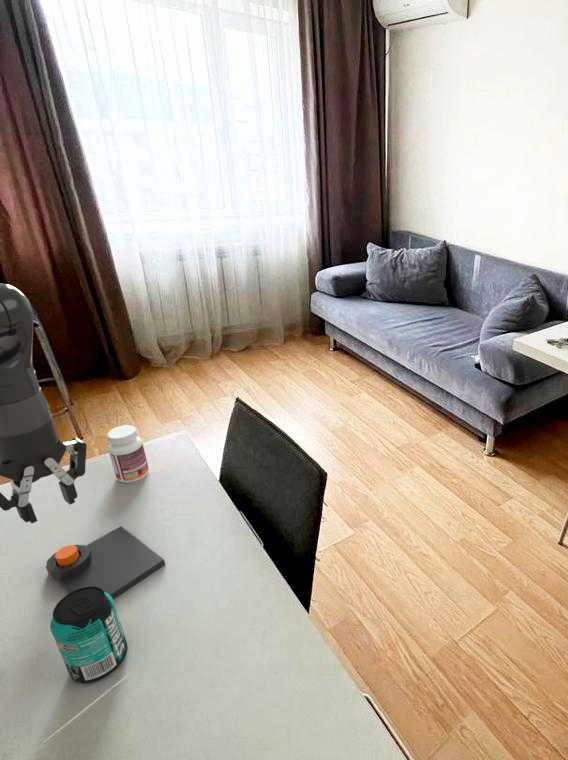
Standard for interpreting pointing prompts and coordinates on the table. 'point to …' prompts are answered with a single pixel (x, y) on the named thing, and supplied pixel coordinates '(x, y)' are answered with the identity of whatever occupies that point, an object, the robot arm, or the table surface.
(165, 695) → the table surface
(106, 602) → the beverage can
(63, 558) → the button
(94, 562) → the scale
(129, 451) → the pill bottle
